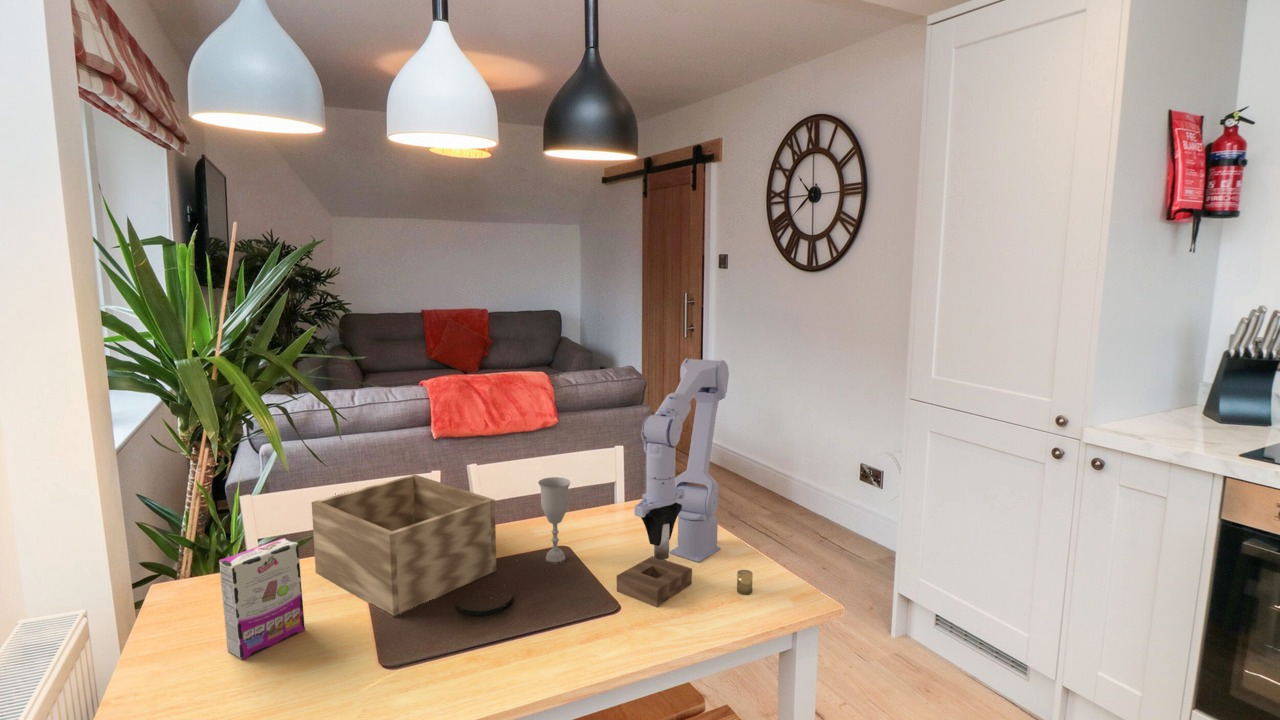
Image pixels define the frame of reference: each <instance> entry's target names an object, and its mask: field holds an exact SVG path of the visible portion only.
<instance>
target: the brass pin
mask: <svg viewBox="0 0 1280 720" xmlns="http://www.w3.org/2000/svg"><path fill="white" fill-rule="evenodd" d="M753 575H754V574H753V572H752V571H751V570H749V569H739V570H738V571H737V574H736V576H737V577H736V578H737V579H736V581H737V583H736V592H737V593H738V594H739V595H741V596H750V595H753V594H752V593H753Z"/></svg>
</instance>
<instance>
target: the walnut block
mask: <svg viewBox="0 0 1280 720" xmlns="http://www.w3.org/2000/svg"><path fill="white" fill-rule="evenodd" d="M692 577H693V567H692V568H691V567H689V566H685V565H681V564H679V563H677V562H673V561H669V560H668V559H665V560H659V559H656V558H655V557H654V555H651V556H650V557H648V558H646V559H644V560H643V561H641V562H639V563H637V564H635V565H634V566H631V567H630V568H628V569H626V570H624V571H623V572H620V573H619V574H616V592H617V593H619V594H622V595H624V596H627V597H630V598H632V599H635V600H637V601H639V602H643V603H645V604H647V605H650V606H653V607H655V608H659V607H660V606H662V605H663V604H665V603H666V602H668V601H669V600H670V599H672V598H674V597H675V596H676V595H678V594H680V593H681V592H683V591H684V590H685V589H686V588H689V587H690V586H691V585H692V583H693V578H692Z"/></svg>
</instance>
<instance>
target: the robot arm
mask: <svg viewBox="0 0 1280 720" xmlns="http://www.w3.org/2000/svg"><path fill="white" fill-rule="evenodd" d="M679 374H680V375H679V376H680V377H679V378H680V381H679V384H678V385H677V388H676V390H675V391H674V392H671V393H669V394H667V395H666V396H665V398H664V399H663V401H662V402H661V404H660V405H659V407H658V408H657V410H656V412H655V413H654V414H650V415H649V416H647V417H645V419H644V420H643V422H642V424H641V425H642V426H641V431H640V434H641V435H640V437H641V440H642V443H643V451H644V453H645V454H646V463H645V464H646V473H645V475H646V477H645V478H646V480H645V481H646V482H645V483H646V484H645V486H646V487H645V488H646V489H645V490H646V491H645V492H644V493H642V496H641V497H642V500H641V501H640V502H639V503H638V504H635V505H634V517H638V518H639V517H640V519H641V520H642V522H643V524H644V527H645V530H646V532H647V537H648V541H649V544H650V545H653V546H654V545H656V546H659V545H660V543H661V537H662V528H663V524H664V521H668V522H669V523H670V526H669V541H670V540H671V538H672V534H673V531H674V527H675V523H676V521H677V547H675V548H673V549H671V550H669V554H671V555H674V556H677V557H681V558H684V559H687V560H690V561H693V562H696V563H700V562H702V561H703V560H705V559H707V558H709V557H710V556H712V555H713V554H715V553H716V552H718V551H720V550H721V546H719V545H718V527H719V526H718V524H719V523H718V519H717V516H716V515H715V514H716V513H717V512H718V507H719V503H720V502H719V499H720V497H719V487H720V486H719V482H717V480H716V479H715V478H714V477H713V476H712V475H711V474H710V473H709V469H710V463H711V461H710V460H711V456H712V455H711V454H712V449H713V442H714V434H715V432H714V431H715V427H716V425H715V424H716V420H717V419H716V418H717V412H718V406H719V402H720V401H721V400H723V399H725V398H726V395H727V392H728V384H729V378H730V372H729V366H728V364H727V362H726V361H725V360H722V359H720V360H715V359H714V360H711V359H710V360H709V359H698V358H697V359H696V358H689V357H686V358H685V359H684V360H683V361H682V363H681V364H680V372H679ZM693 399H695V402H696V404H695V405H696V406H695V410H694V419H693V426H692V433H691V439H690V448H689V452H688V460H687V467H686V470H685V471H683V472H681V473H680V474H678V475H677V476H676V456H677V455H676V446H677V445H678V444H679V443H680V439H681V435H682V432H683V423H684V422H685V420H686V419H687V417H688V415H689V413H690V412H691V410H692V405H691V401H692V400H693ZM690 484H694V485H690ZM696 485H697V486H696ZM698 485H700V486H698ZM702 486H703V487H702ZM704 486H705V487H704Z"/></svg>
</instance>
